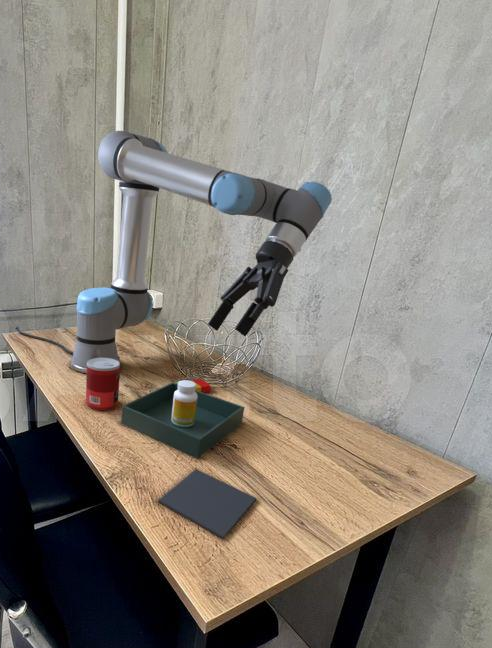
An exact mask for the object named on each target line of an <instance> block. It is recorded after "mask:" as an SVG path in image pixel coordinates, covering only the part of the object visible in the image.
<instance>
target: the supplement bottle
mask: <svg viewBox="0 0 492 648" xmlns="http://www.w3.org/2000/svg"><path fill="white" fill-rule="evenodd" d="M177 382H178V390H176V391H175V392H174V397H173V407H172V416H171V421H172V423H173V424H175V425H177V426H180V427H190V426H192V425H193V424H194V422H195V414H196V406H197V397H198V396H197V393H196V392H195V389H196V384H195V383H194V382H192V381H189V380H188V379H187V380H185V379H183V380H179V381H177Z"/></svg>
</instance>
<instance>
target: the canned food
mask: <svg viewBox="0 0 492 648" xmlns="http://www.w3.org/2000/svg"><path fill="white" fill-rule="evenodd" d="M120 375H121V362H120V363H119V362H118V361H117V360H114V359H110V358H94V359H90V360H89V361H87V373H86V379H85V380H86V381H85V383H86V385H85V386H86V387H85V402H86V405H87V407H89V408H90V409H93V410H96V411H109V410H113V409H115V408H116V407H117V406H118V403H119V393H120V392H119V391H120Z"/></svg>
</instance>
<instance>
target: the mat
mask: <svg viewBox="0 0 492 648" xmlns="http://www.w3.org/2000/svg"><path fill="white" fill-rule="evenodd" d="M256 500H257V498H256V497H255V496H253V495H251V494H249V493H246V492H244V491H242V490H240V489H238V488H236V487H234V486H233V485H230V484H228V483H226V482H224V481H222V480H220V479H217V478H215V477H213V476H211V475H209V474H207V473H205V472H204V471H200V470H199V469H197V468H196V469H194V470H193V471H192V472H190V473H189V475H186V477H184V479H182V480H181V481H180V482H179V483H178V484H176V485H175V486H174V487H173V488H171V489H170V490H169V491H168V492H167V493H165V494H164V495H163V496H162V497H160V498H159V499H158V503H159V504H161V506H164V507H165V508H168V509H169V510H171V511H173V512H174V513H176V514H178V515H180V516H181V517H183V518H185V519H187V520H188V521H190V522H192V523H194V524H195V525H197V526H199V527H201V528H202V529H205V530H206V531H208V532H209V533H211V534H213V535H215V536H216V537H218V538H220V539H221V540H224V539H225V537H226V536H227V535H228V534H229V533H230V532H231V530H232V529H233V528H234V527H235V526H236V525H237V524H238V522H239V521H240V520H241V519H242V517H243V516H244V515H245V514H246V512H248V510H249V509H251V507H252V505H254V503H255V502H256Z"/></svg>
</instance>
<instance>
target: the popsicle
mask: <svg viewBox="0 0 492 648" xmlns="http://www.w3.org/2000/svg"><path fill="white" fill-rule="evenodd" d="M188 381H192V382H194V383H195V384H196V389H195V390H197V391H199V392H202V393H209V392H210V391H211V388H212V386H211V384H210V383H208V382H207V381H206V380H204V379H201V378H200V379H199V378H198V379H190V380H188ZM178 382H179V381H174V383H177V384H178Z"/></svg>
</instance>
